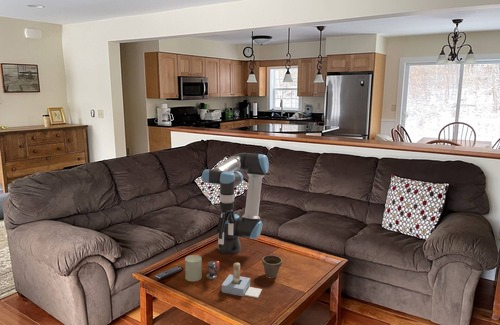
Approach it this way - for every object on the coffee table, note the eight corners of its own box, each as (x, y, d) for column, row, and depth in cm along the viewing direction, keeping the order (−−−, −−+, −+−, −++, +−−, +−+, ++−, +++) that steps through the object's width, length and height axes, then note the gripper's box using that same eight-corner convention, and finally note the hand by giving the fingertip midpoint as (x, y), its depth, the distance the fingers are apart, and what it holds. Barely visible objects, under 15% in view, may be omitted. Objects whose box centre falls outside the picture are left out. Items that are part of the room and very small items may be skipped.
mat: (249, 287, 200) (249, 286, 200) (261, 290, 198) (261, 289, 198) (244, 295, 193) (244, 294, 193) (257, 298, 191) (257, 297, 191)
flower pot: (285, 278, 212) (286, 261, 210) (267, 282, 206) (268, 265, 204) (274, 269, 222) (275, 253, 220) (257, 272, 216) (258, 256, 214)
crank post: (209, 273, 214) (209, 263, 213) (218, 274, 213) (218, 265, 211) (204, 278, 209) (204, 268, 208) (214, 280, 207) (214, 270, 206)
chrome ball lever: (213, 263, 212) (213, 254, 211) (221, 271, 204) (221, 261, 203) (206, 265, 210) (206, 255, 209) (214, 273, 202) (214, 263, 200)
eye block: (229, 280, 207) (229, 274, 206) (250, 284, 203) (250, 278, 203) (221, 292, 195) (221, 285, 195) (243, 296, 192) (243, 289, 191)
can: (193, 283, 203) (193, 263, 201) (181, 277, 208) (181, 257, 206) (205, 276, 210) (205, 257, 208) (193, 271, 216) (193, 252, 213)
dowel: (234, 286, 202) (234, 262, 199) (240, 287, 201) (241, 263, 198) (231, 289, 198) (232, 265, 195) (238, 290, 197) (238, 266, 194)
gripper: (228, 194, 209) (228, 230, 213) (210, 207, 186) (209, 247, 190) (241, 196, 207) (240, 232, 211) (224, 209, 183) (223, 249, 188)
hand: (225, 239), depth 200 cm, fingers open, 13 cm apart
